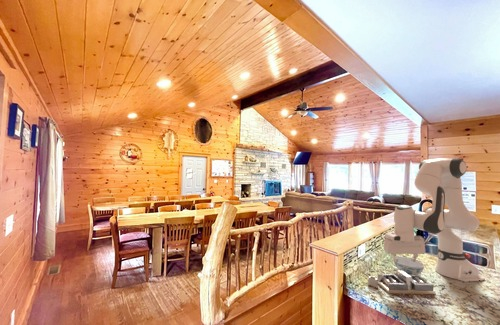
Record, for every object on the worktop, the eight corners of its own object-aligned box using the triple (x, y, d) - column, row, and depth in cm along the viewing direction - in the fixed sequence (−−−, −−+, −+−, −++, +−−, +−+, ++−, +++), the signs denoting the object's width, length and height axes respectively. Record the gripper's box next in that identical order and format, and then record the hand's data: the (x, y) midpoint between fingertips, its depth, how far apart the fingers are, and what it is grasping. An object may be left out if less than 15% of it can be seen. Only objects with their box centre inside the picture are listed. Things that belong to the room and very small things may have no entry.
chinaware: (387, 270, 133) (387, 258, 133) (403, 267, 138) (403, 255, 138) (413, 282, 119) (413, 269, 119) (430, 278, 124) (430, 265, 124)
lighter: (368, 285, 116) (368, 270, 116) (369, 283, 117) (369, 269, 117) (383, 290, 111) (383, 274, 111) (384, 289, 112) (384, 273, 112)
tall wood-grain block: (402, 281, 117) (402, 270, 117) (411, 288, 110) (411, 276, 110) (397, 281, 117) (397, 270, 117) (406, 288, 110) (406, 276, 110)
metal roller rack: (419, 283, 119) (419, 274, 119) (435, 294, 108) (435, 285, 108) (376, 281, 119) (376, 273, 119) (388, 292, 109) (388, 284, 109)
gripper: (419, 234, 118) (419, 259, 117) (381, 233, 118) (382, 258, 118) (428, 237, 111) (428, 264, 111) (389, 237, 112) (389, 264, 111)
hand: (404, 261), depth 114 cm, fingers open, 8 cm apart
